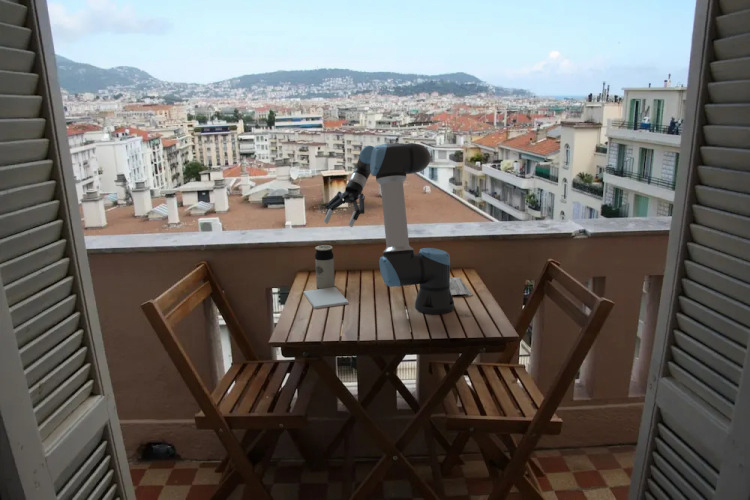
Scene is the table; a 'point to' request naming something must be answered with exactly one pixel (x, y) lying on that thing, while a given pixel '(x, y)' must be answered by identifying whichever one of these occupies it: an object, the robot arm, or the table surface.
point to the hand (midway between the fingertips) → (337, 223)
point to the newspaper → (459, 287)
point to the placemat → (325, 297)
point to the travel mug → (324, 267)
